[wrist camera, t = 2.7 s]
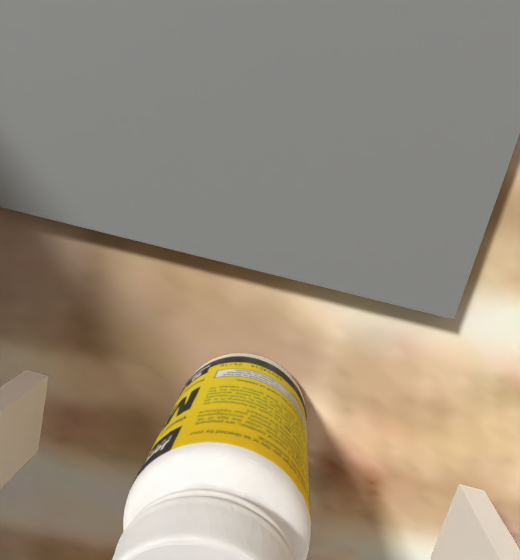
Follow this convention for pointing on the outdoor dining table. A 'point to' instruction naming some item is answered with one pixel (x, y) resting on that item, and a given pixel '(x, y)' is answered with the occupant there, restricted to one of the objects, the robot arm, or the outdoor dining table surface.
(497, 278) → the outdoor dining table surface
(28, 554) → the outdoor dining table surface
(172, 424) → the supplement bottle
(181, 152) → the slate mat
